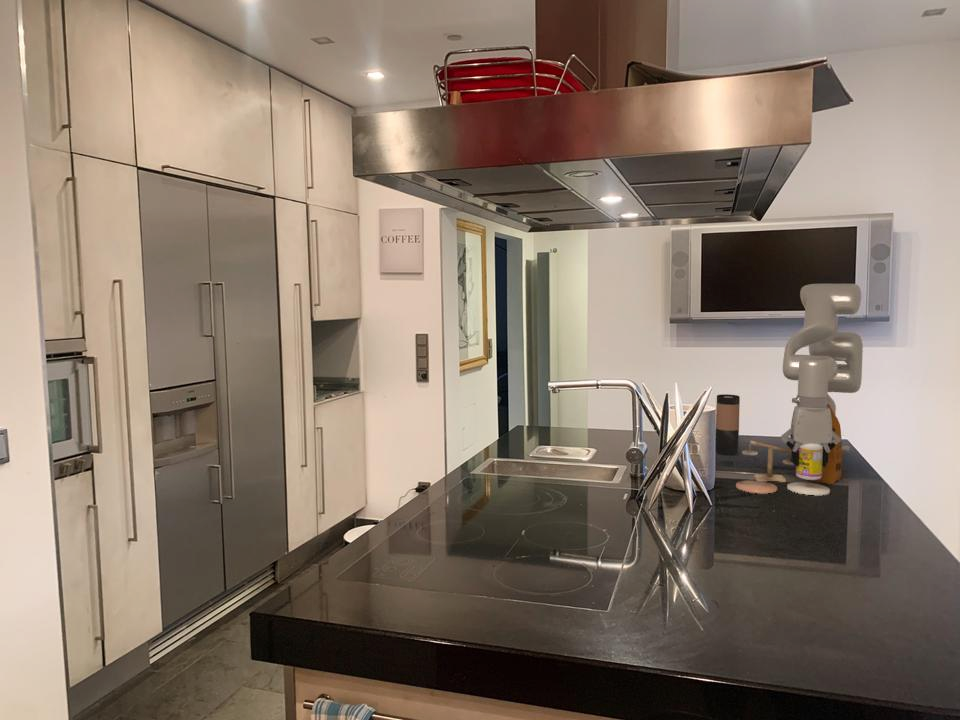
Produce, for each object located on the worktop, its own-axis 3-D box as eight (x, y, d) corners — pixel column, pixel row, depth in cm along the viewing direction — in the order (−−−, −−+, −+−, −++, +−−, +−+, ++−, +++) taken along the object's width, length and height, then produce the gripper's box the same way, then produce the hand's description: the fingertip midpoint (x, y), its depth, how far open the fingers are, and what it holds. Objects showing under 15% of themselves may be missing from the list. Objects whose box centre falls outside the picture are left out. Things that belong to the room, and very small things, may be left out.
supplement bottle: (790, 475, 203) (792, 431, 201) (810, 473, 205) (811, 429, 203) (807, 481, 196) (809, 435, 195) (827, 479, 198) (829, 434, 197)
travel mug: (740, 452, 247) (742, 395, 245) (735, 456, 241) (737, 398, 239) (717, 449, 251) (719, 393, 249) (712, 453, 245) (714, 396, 243)
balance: (795, 478, 213) (797, 440, 212) (800, 482, 208) (801, 443, 207) (739, 476, 215) (741, 438, 214) (742, 480, 211) (744, 442, 210)
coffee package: (798, 480, 211) (801, 407, 209) (810, 471, 221) (813, 402, 218) (835, 486, 205) (838, 411, 203) (845, 477, 214) (848, 405, 212)
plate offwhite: (822, 485, 205) (822, 482, 205) (835, 496, 195) (835, 493, 194) (782, 484, 207) (782, 481, 207) (793, 495, 196) (793, 492, 196)
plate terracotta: (771, 483, 207) (771, 481, 207) (781, 494, 197) (782, 491, 196) (732, 482, 209) (732, 479, 209) (740, 493, 198) (740, 490, 198)
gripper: (783, 404, 196) (780, 467, 198) (849, 405, 193) (846, 469, 195) (775, 399, 203) (773, 460, 205) (840, 400, 201) (837, 462, 202)
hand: (809, 464), depth 200 cm, fingers closed on supplement bottle, 6 cm apart
